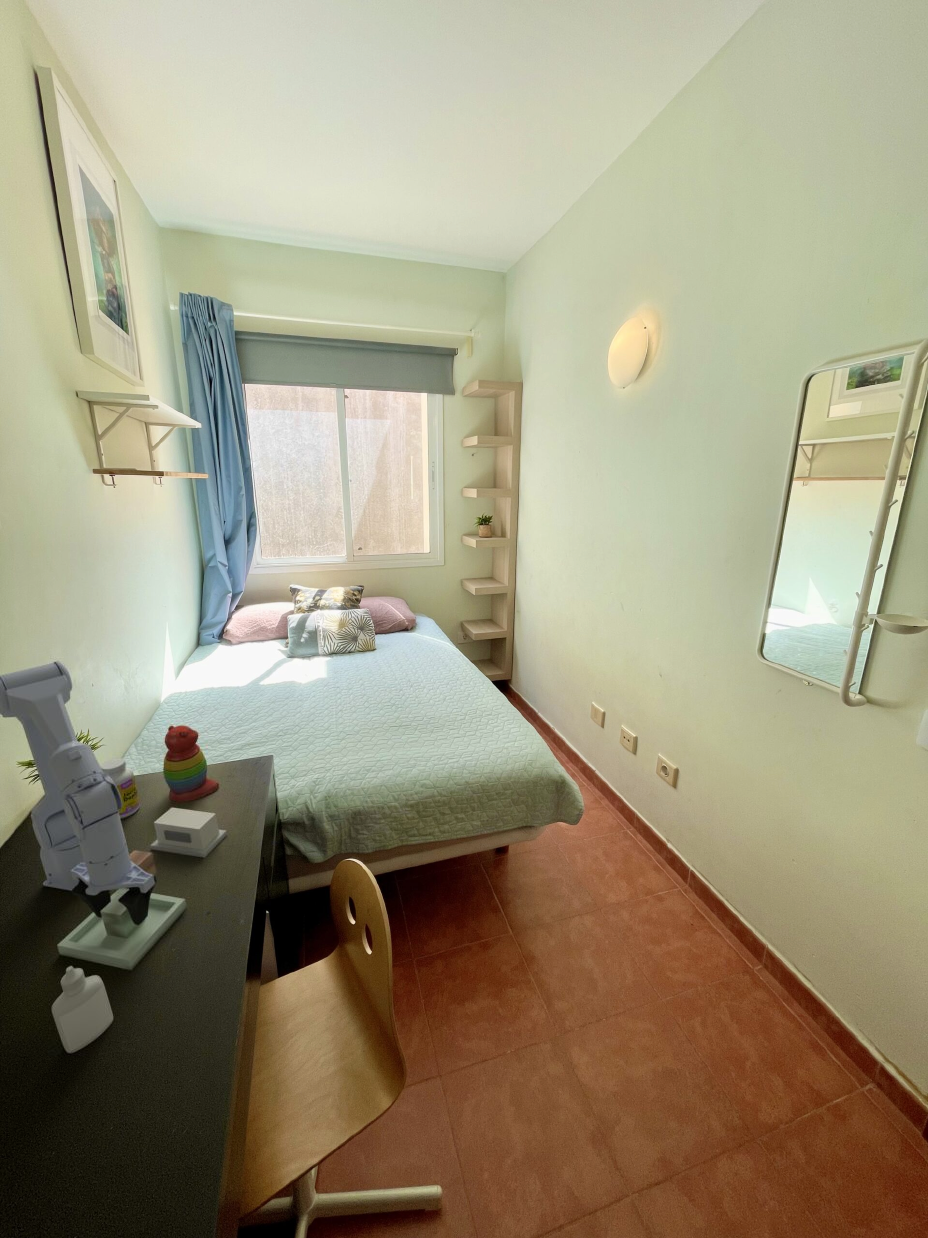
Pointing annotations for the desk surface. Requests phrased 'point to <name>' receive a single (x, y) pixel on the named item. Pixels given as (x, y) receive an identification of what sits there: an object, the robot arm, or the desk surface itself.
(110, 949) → the sage tray
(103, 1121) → the desk surface
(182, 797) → the stacking bear
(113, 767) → the supplement bottle
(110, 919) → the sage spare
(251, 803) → the desk surface
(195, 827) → the mounted unit
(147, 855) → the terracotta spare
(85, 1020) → the eye dropper bottle
